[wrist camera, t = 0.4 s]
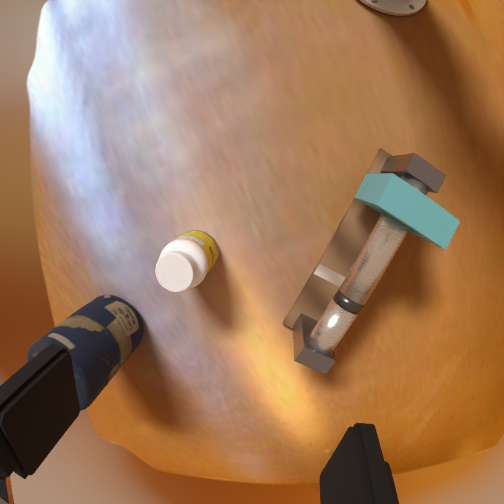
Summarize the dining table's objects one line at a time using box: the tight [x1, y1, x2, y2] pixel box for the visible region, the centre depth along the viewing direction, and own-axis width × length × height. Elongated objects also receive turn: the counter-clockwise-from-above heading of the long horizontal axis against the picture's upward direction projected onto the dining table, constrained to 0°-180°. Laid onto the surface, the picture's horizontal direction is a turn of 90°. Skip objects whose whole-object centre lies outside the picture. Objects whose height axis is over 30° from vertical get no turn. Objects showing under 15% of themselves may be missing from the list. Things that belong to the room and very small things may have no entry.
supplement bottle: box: [155, 230, 219, 292], centre depth 35 cm, size 5×5×10 cm
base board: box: [283, 149, 392, 329], centre depth 37 cm, size 25×6×1 cm, turn 153°
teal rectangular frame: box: [354, 173, 460, 250], centre depth 28 cm, size 3×8×9 cm, turn 63°
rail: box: [293, 153, 446, 374], centre depth 33 cm, size 24×4×9 cm, turn 153°
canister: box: [28, 295, 142, 411], centre depth 35 cm, size 10×10×18 cm
